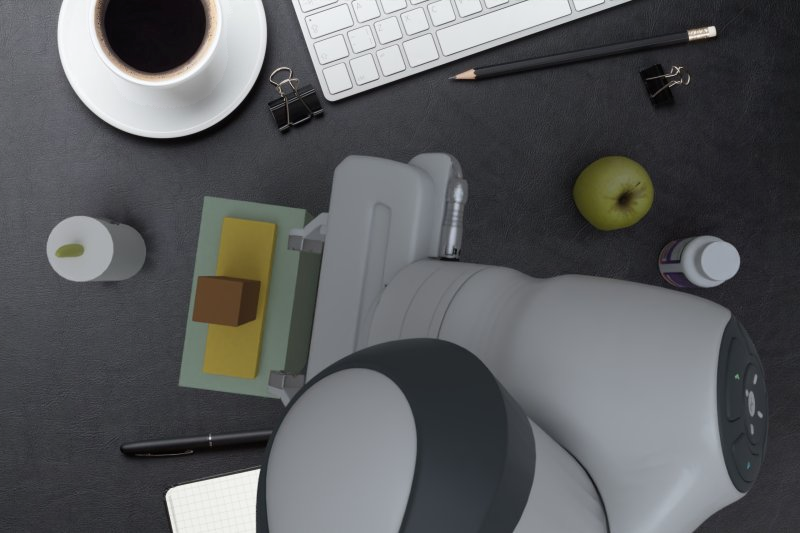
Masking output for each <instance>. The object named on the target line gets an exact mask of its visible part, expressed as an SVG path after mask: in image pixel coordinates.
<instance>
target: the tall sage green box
mask: <svg viewBox="0 0 800 533" xmlns="http://www.w3.org/2000/svg"><path fill="white" fill-rule="evenodd" d="M202 203H203V204H202V211H201V217H200V226H199V232H198V240H197V247H196V254H195V261H194V270H193V275H192V283H191V284H192V285H191V291H190V296H189V297H190V298H189V306H188V313H187V321H186V327H185V335H184V342H183V350H182V357H181V363H180V370H179V377H178V378H179V379H178V387H183V388H189V389H190V388H191V389H199V390H207V391H216V392H223V393H231V394H238V395H239V394H240V395H247V396H255V397H262V398H271V399H278V400H281V397H278V396H275V395H272V394H269V393H267V388H268V381H269V375H270V370H277V371H280V370H288V371H293V372H295V373H300V374H301V371H303V369H304V367H305V366H306V365H307V364H308V357H309V350H310V342H311V335H312V328H313V320H314V313H315V305H316V298H317V290H318V283H319V276H320V273H319V272H320V268H321V261H322V259H321V258H322V254H317V253H309V252H301V251H295V250H288V249H287V246H288V238H289V228H290V227H291V228H304V227H305V226H306V225H307V224H309V223H310V222H311V221H312V220H313V219H315V218H316V217H314V216H313V215H312V214H311V213H310V212H309V211H308V210H307V209H305V208H299V207H292V206H291V207H290V206H283V205H277V204H270V203H261V202H254V201H246V200H239V199H232V198H226V197H225V198H224V197H217V196H210V195H204V196H203V202H202ZM223 217H231V218H238V219H246V220H253V221H260V222H268V223H275V224H277V225H278V229H277V236H276V243H275V251H274V258H273V266H272V273H271V280H270V288H269V295H268V302H267V310H266V317H265V325H264V332H263V339H262V347H261V354H260V361H259V369H258V376H257V377H256V378H255V379H248V378H240V377H232V376H224V375H216V374H208V373H203V372H202V370H203V363H204V355H205V348H206V341H207V333H208V326H209V323H201V322H194V321H192V317H193V309H194V302H195V295H196V288H197V280H198V276H215V275H216V268H217V260H218V253H219V246H220V238H221V231H222V224H223Z"/></svg>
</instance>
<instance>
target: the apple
mask: <svg viewBox="0 0 800 533" xmlns="http://www.w3.org/2000/svg"><path fill="white" fill-rule="evenodd" d="M652 182H653V181H652V180H651V177H650V175H649V173H648V172H647V170H646V169H645V168H644V167H643V166H642V165H641V164H640V163H638V162H636V161H635V160H633V159H631V158H629V157H626V156H622V155H611V156H605V157H601V158H599V159H597V160H595V161H594V162H592V163H590V164H589V165H588V166H587V167H585V168H584V169H583V170H582V172H581V173H580V174H579V176H578V177H577V179H576V181H575V183H574V185H573V188H572V196H573V201H574V202H575V205H576V207H577V210H578V211H579V213H580V214H581V216H583V218H585V220H587V222H588V223H589V224H590V225H591V226H593V227H594V228H596V229H598V230H600V231H613V230H619V229H624V228H629V227H631V226H634V225H635V224H636V223H638V222H640V220H641V219H642V218H644V216H646V214H647V213H649V211H650V210H651V208H652V205H653V201H654V194H655V190H654V186H653V183H652Z"/></svg>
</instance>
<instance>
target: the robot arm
mask: <svg viewBox="0 0 800 533" xmlns="http://www.w3.org/2000/svg"><path fill="white" fill-rule="evenodd" d="M468 199H469V181H468V180H467V179H464V172H463V168H462V165H461V163H460V161H459V160H458V159H457V158H456V157H455V155H453V154H450V152H449V153H448V152H443V151H442V152H441V151H439V152H424V153H420V154H417V155H416V156H414V157H412V158H411V159H410V161H408V163H404V162H401V161H397V160H394V159H393V160H392V159H389V158H384V157H378V156H373V155H372V156H371V155H362V154H360V155H359V154H350V155H347V156H345V158H344V159H343V160H341V162H340V163H339V164H337V165H336V167H335V169H334V171H333V177H332V187H331V192H330V199H329V207H328V212H323V211H322V212H321V213H319V214H318V215H317V216H316V217H314V218H315V219H313V220H312V221H311V222H310V223H309V224H307V225H306V226H305V227H304V228H291V227H290V228H289V238H288V246H287V249H288V250H295V251H301V252H309V253H317V254H321V255H322V257H321V258H322V259H321V264H320V271H319V272H320V273H319V278H318V286H317V293H316V300H315V308H314V315H313V322H312V330H311V337H310V344H309V352H308V359H307V367H306V374H303V373H301V372H300V373H295V372H293V371H288V370H280V371H277V370H270V375H269V381H268V388H267V393H269V394H272V395H275V396H278V397H281V398H280V400H281V402H282V404H283V406H284V408H283V410H282V412H281V413H280V415H279V417H278V419H277V420H276V422H275V424H274V427H273V429H272V431H271V433H270V435H269V438H268V441H267V444H266V446H265V449H264V453H263V456H262V460H261V464H260V469H259V474H258V479H257V487H256V500H255V533H694V532H695V531H696V530H697V529H698V528H699V527H700V526H701V525H702V524H704V522H705V521H706V520H708V519H709V518H710V517H711V516H714V515H715V514H716V513H717V512H719V511H720V510H722V509H725V508H726V507H727V506H729V505H732V504H733V503H735V502H737V501H739V500H740V499H742V498H744V497H745V496H746V495H747V493H749V492H750V490H751V489H752V488H753V486H754V485H755V482H756V481H757V477H758V476H759V473H760V469H761V466H762V465H763V464H764V461H765V455H766V449H767V445H768V437H769V436H768V435H769V394H768V390H767V387H766V380H765V379H766V378H765V369H764V367H763V364H762V360H761V358H760V355H759V354H758V351H757V349H756V347H755V344H754V342H753V340H752V339H751V337H750V335H749V333H748V331H747V330H746V328H745V326H744V325H743V324H742V322H741V321H740V319H739V318H737V317H736V316H735V315H734V313H733V311H731V310H730V309H729V308H727V307H725V306H723V305H721V304H719V303H717V302H714V301H712V300H710V299H707V298H705V297H701V296H698V295H695V294H691V293H688V292H683V291H679V290H674V289H670V288H668V287H667V288H666V287H662V286H659V285H653V284H647V283H643V282H636V281H630V280H624V279H620V278H619V279H618V278H611V277H602V276H594V275H587V274H586V275H585V274H577V273H576V274H575V273H571V274H569V273H568V274H561V275H556V276H551V277H545V278H538V277H534V276H530V275H528V274H526V273H524V272H522V271H519V270H517V269H515V268H512V267H507V266H503V265H493V264H483V263H474V262H473V263H472V262H463V261H461V260H460V259H461V251H462V244H463V236H464V223H463V222H464V217H465V210H466V209H465V208H466V205H467V204H468Z"/></svg>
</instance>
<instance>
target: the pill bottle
mask: <svg viewBox="0 0 800 533" xmlns="http://www.w3.org/2000/svg"><path fill="white" fill-rule="evenodd" d="M739 254H740V253H739V252H738V250H737V248H736V247H735V246H734V245H733V244H731V243H729V242H727V241H724V240H723V239H721V238H719V237H717V236H715V235H714V236H713V235H698V236H693V237H685V238H679V239H674V240H672V241H670V242H669V243H667V244H666V245H665V246H664V247H663V249H662V250H661V252H660V254H659V257H658V268H659V269H658V270H659V272H660V274H661V276H662V277H663V278H664V280H665V281H666V282H668V283H669V284H671V285H673V286H675V287H678V288H679V287H680V288H714V287H717V286H720V285H721V284H723V283H725V282H726V281H728V280H730V279H732V278H733V277H734V276H735V275H736V274H737V272H739V269H740V265H741V257H740V255H739Z"/></svg>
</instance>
